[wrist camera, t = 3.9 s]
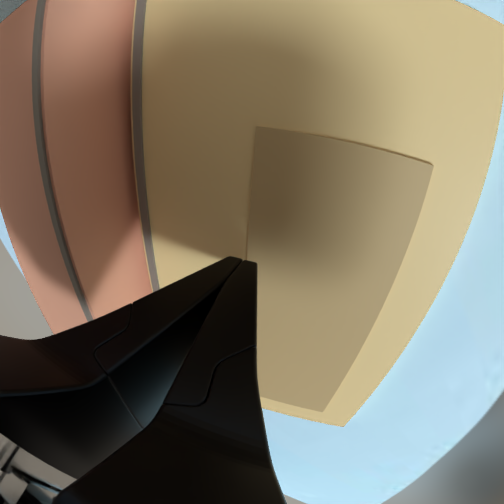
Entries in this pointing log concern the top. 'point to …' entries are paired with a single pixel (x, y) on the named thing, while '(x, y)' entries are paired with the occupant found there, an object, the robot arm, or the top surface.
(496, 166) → the top surface
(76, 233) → the pink long block
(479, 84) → the tan rectangular slab
